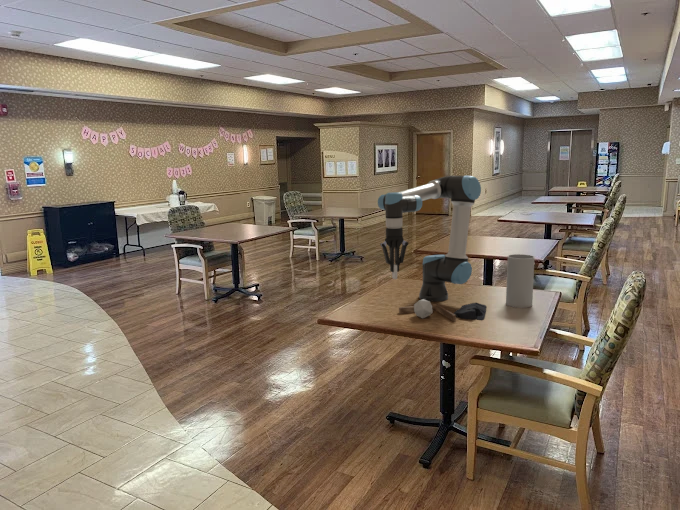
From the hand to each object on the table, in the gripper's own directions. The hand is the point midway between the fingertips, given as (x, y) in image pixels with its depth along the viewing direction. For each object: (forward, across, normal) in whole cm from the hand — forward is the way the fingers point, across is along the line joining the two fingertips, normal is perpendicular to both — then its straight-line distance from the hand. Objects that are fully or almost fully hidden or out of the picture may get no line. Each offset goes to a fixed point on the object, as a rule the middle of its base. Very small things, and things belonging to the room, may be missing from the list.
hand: (394, 278), depth 237 cm
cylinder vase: (+21, -67, -5) cm, 71 cm away
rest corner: (+20, -15, 0) cm, 25 cm away
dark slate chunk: (+21, -38, +1) cm, 44 cm away
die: (+16, -9, 0) cm, 19 cm away
